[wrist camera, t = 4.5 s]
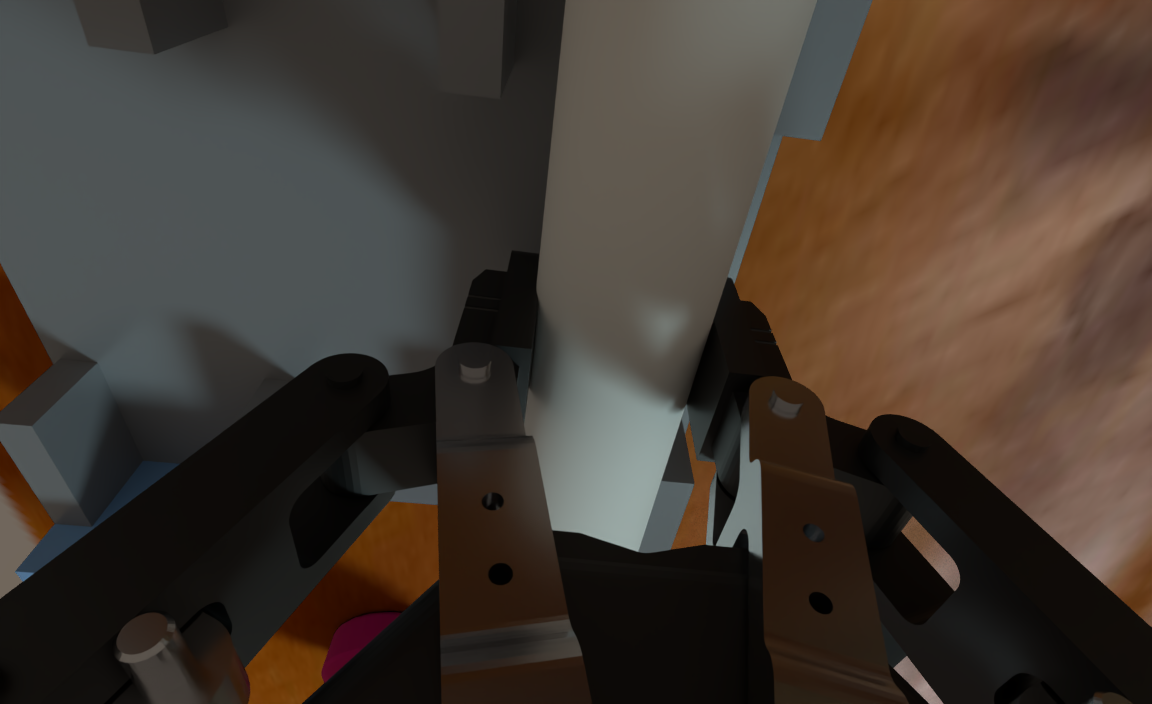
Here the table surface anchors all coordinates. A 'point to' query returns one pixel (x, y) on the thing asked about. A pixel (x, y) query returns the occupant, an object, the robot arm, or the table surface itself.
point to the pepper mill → (354, 639)
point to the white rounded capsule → (643, 233)
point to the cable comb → (275, 210)
